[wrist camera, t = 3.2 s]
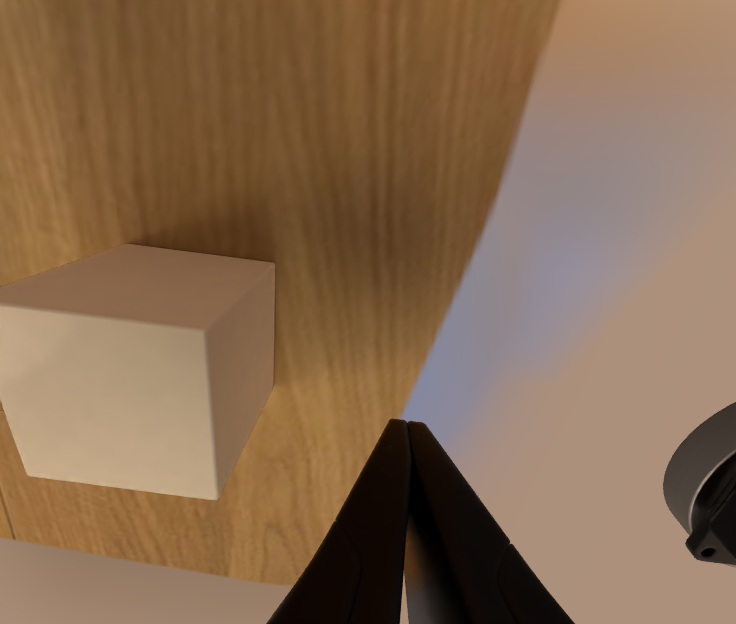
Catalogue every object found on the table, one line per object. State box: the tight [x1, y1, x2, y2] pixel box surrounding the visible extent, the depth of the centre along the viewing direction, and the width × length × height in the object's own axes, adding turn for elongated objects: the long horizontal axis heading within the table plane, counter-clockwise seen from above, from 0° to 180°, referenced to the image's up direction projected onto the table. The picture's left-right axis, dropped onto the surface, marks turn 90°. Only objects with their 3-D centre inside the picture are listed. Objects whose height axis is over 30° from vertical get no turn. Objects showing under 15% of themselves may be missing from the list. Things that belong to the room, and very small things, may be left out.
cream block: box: [0, 244, 275, 500], centre depth 11 cm, size 5×5×5 cm
